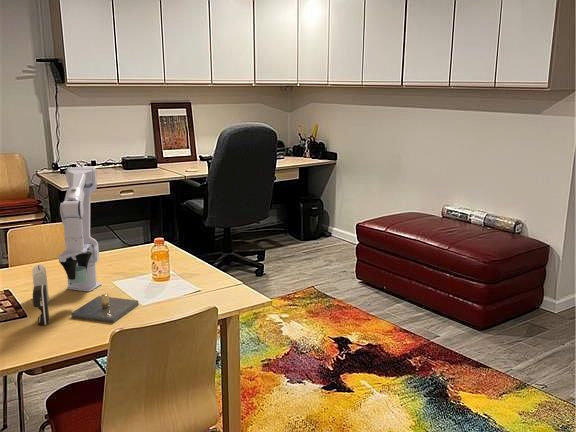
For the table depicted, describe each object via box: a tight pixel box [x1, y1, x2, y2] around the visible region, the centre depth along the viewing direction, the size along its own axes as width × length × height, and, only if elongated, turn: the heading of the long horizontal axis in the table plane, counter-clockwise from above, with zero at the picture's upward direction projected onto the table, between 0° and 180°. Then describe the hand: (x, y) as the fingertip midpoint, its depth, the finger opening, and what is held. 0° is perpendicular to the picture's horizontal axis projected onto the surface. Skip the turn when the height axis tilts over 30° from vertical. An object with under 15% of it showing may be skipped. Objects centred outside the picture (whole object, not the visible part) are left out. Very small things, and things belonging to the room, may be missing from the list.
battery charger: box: [32, 285, 50, 326], centre depth 168 cm, size 7×4×11 cm, turn 22°
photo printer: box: [31, 263, 50, 303], centre depth 185 cm, size 10×4×12 cm, turn 26°
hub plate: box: [71, 293, 139, 324], centre depth 177 cm, size 15×15×6 cm
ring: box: [69, 266, 87, 283], centre depth 181 cm, size 5×5×4 cm
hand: (77, 276), depth 182 cm, fingers closed on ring, 5 cm apart
